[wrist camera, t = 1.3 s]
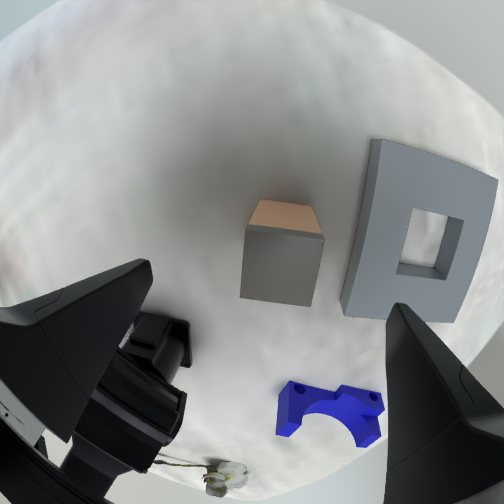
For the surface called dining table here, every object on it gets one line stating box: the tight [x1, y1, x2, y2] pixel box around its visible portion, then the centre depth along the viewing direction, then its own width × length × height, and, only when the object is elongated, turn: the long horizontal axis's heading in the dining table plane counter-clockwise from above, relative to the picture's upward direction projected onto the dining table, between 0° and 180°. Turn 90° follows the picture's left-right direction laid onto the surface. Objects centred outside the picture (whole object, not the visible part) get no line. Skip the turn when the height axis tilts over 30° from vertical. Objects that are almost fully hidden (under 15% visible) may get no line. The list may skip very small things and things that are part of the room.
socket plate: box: [340, 139, 498, 323], centre depth 19 cm, size 14×12×2 cm
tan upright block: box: [240, 199, 324, 307], centre depth 18 cm, size 4×4×8 cm
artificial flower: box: [141, 460, 248, 498], centre depth 38 cm, size 9×22×10 cm, turn 89°
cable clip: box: [276, 381, 385, 448], centre depth 26 cm, size 12×4×6 cm, turn 70°
